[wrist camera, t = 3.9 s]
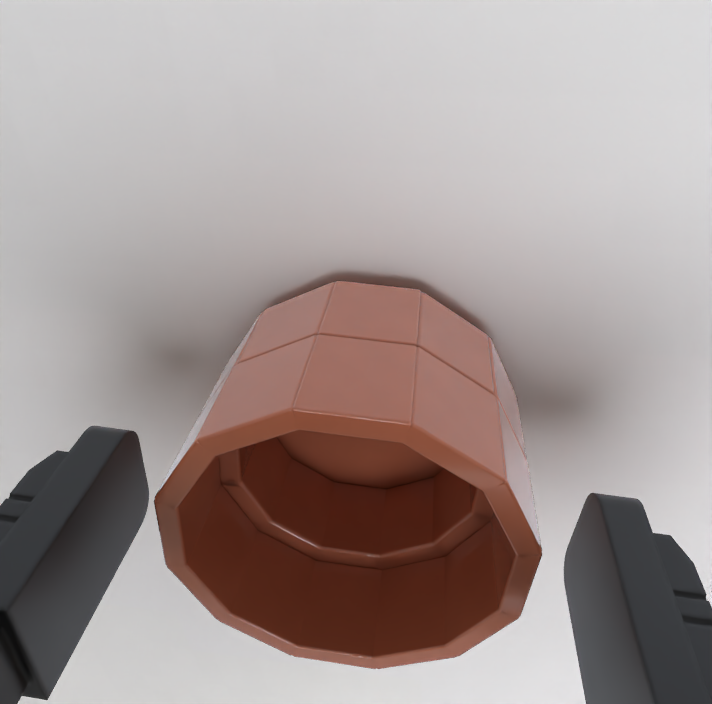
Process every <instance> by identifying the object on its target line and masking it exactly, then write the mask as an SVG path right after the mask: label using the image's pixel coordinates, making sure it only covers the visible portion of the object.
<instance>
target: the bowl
mask: <svg viewBox="0 0 712 704" xmlns="http://www.w3.org/2000/svg"><path fill="white" fill-rule="evenodd" d="M154 504H155V509H156V515H157V520H158V526H159V531H160V536H161V542H162V547H163V553H164V558H165V564H166V565H167V567H168V569H169V570H170V571H171V572H172V573H173V574H174V575H175V576H176V577H177V578H178V579H179V580H180V581H181V582H182V583H183V584H184V586H185V587H186V588H187V589H188V590H189V591H190V592H191V593H192V594H193V595H194V596H195V597H196V598H197V599H198V600H199V601H200V603H201V604H202V605H203V606H204V607H205V608H206V609H207V610H208V611H209V612H210V613H211V614H212V615H213V616H214V617H215V618H216V619H218V620H219V621H220V622H222V623H224V624H226V625H228V626H230V627H232V628H234V629H236V630H239V631H241V632H243V633H245V634H247V635H249V636H251V637H253V638H255V639H257V640H259V641H261V642H264V643H266V644H268V645H270V646H272V647H274V648H276V649H278V650H280V651H282V652H284V653H287V654H289V655H293V656H294V657H301V658H307V659H314V660H320V661H326V662H333V663H339V664H346V665H352V666H359V667H365V668H371V669H376V668H377V669H382V668H388V667H395V666H402V665H408V664H415V663H421V662H428V661H434V660H441V659H448V658H454V657H457V656H460V655H462V654H463V653H465V652H466V651H468V650H470V649H471V648H473V647H474V646H476V645H477V644H479V643H481V642H482V641H484V640H485V639H487V638H488V637H490V636H492V635H493V634H495V633H496V632H498V631H499V630H501V629H503V628H504V627H506V626H507V625H509V624H511V623H512V622H514V621H515V620H517V619H518V618H519V617H520V616H521V613H522V610H523V607H524V604H525V602H526V599H527V596H528V593H529V590H530V587H531V585H532V582H533V579H534V576H535V573H536V570H537V568H538V565H539V562H540V559H541V556H542V548H541V542H540V536H539V530H538V524H537V518H536V511H535V505H534V499H533V493H532V487H531V480H530V474H529V468H528V463H527V457H526V451H525V445H524V439H523V432H522V426H521V420H520V414H519V408H518V401H517V396H516V394H515V392H514V389H513V387H512V385H511V382H510V380H509V378H508V376H507V373H506V371H505V369H504V367H503V364H502V362H501V360H500V357H499V355H498V353H497V351H496V348H495V346H494V344H493V341H492V339H491V338H490V337H488V336H487V334H486V333H484V332H483V331H481V330H480V329H478V328H477V327H475V326H474V325H472V324H471V323H469V322H468V321H466V320H465V319H463V318H462V317H460V316H459V315H457V314H456V313H454V312H453V311H451V310H450V309H448V308H447V307H445V306H444V305H442V304H441V303H439V302H438V301H436V300H435V299H433V298H432V297H430V296H429V295H427V294H426V293H424V292H421V290H419V289H411V288H402V287H392V286H383V285H374V284H365V283H356V282H347V281H336V282H331V283H329V284H326V285H324V286H321V287H319V288H316V289H314V290H311V291H309V292H306V293H304V294H301V295H299V296H296V297H294V298H292V299H289V300H287V301H284V302H282V303H279V304H277V305H274V306H272V307H269V308H267V309H265V310H264V311H263V312H261V313H260V315H259V316H258V318H257V319H256V321H255V322H254V324H253V325H252V327H251V328H250V330H249V331H248V333H247V334H246V336H245V337H244V339H243V340H242V342H241V343H240V345H239V346H238V348H237V349H236V351H235V352H234V354H233V355H232V357H231V358H230V360H229V361H228V363H227V365H226V366H225V368H224V370H223V372H222V374H221V376H220V378H219V379H218V381H217V383H216V385H215V387H214V389H213V391H212V392H211V394H210V396H209V398H208V400H207V402H206V404H205V405H204V407H203V409H202V411H201V413H200V415H199V416H198V419H197V420H196V422H195V424H194V426H193V428H192V429H191V431H190V433H189V435H188V437H187V439H186V441H185V442H184V444H183V446H182V448H181V450H180V452H179V454H178V455H177V457H176V459H175V461H174V463H173V465H172V466H171V468H170V470H169V472H168V474H167V476H166V478H165V479H164V481H163V483H162V485H161V487H160V489H159V491H158V492H157V494H156V496H155V500H154Z"/></svg>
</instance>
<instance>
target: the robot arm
mask: <svg viewBox="0 0 712 704" xmlns="http://www.w3.org/2000/svg"><path fill="white" fill-rule="evenodd" d="M148 500H149V489H148V483H147V478H146V473H145V468H144V463H143V458H142V453H141V448H140V442H139V438H138V436H137V434H136V432H134V431H129V430H122V429H114V428H106V427H99V426H91V427H89V428H88V429H86V430H85V432H84V433H83V434H82V435H81V437H80V438H79V439H78V441H77V442H76V443H75V445H74V446H73V447H72V449H71V450H70V451H69V452H63V451H56V452H54V453H53V454H52V455H50V456H49V457H47V458H46V459H44V460H43V461H41V462H40V463H39V464H37V465H36V466H34V467H33V468H31V469H30V470H29V471H28V472H27V473H26V475H25V476H24V477H23V478H22V479H21V481H20V482H19V483H18V484H17V486H16V487H15V488H14V489H13V491H12V492H11V493H10V497H9V499H5V501H4V502H3V503H2V504H1V505H0V704H17V703H18V701H19V700H20V698H21V696H26V697H32V698H38V699H44V700H48V698H49V696H50V694H51V692H52V690H53V689H54V687H55V685H56V683H57V681H58V679H59V677H60V676H61V674H62V672H63V670H64V668H65V666H66V664H67V662H68V661H69V659H70V657H71V655H72V653H73V651H74V649H75V648H76V646H77V644H78V642H79V640H80V638H81V636H82V635H83V633H84V631H85V629H86V627H87V625H88V623H89V621H90V620H91V618H92V616H93V614H94V612H95V610H96V608H97V607H98V605H99V603H100V601H101V599H102V597H103V595H104V594H105V592H106V590H107V588H108V586H109V584H110V582H111V580H112V579H113V577H114V575H115V573H116V571H117V569H118V567H119V566H120V564H121V562H122V560H123V558H124V556H125V554H126V553H127V551H128V549H129V547H130V545H131V543H132V541H133V539H134V538H135V536H136V534H137V532H138V530H139V528H140V526H141V524H142V522H143V520H144V518H145V515H146V511H147V507H148ZM564 584H565V590H566V595H567V601H568V606H569V612H570V617H571V623H572V628H573V634H574V639H575V645H576V650H577V656H578V661H579V667H580V672H581V678H582V683H583V689H584V694H585V700H586V704H712V608H711V605H710V603H709V601H706V593H705V590H704V588H703V585H702V583H701V580H700V578H699V575H698V573H697V570H696V568H695V565H694V563H693V562H692V561H691V560H690V558H689V557H688V556H687V555H686V554H685V552H684V551H683V550H682V549H681V548H680V547H679V545H678V544H677V543H676V542H675V541H674V539H673V538H672V537H671V536H670V535H663V534H656V533H653V532H652V530H651V527H650V524H649V521H648V518H647V515H646V512H645V510H644V507H643V505H642V503H641V502H640V501H639V500H638V499H634V498H627V497H619V496H611V495H604V494H596V493H591V494H590V495H589V496H588V497H587V499H586V501H585V504H584V506H583V509H582V511H581V514H580V517H579V519H578V522H577V524H576V527H575V529H574V532H573V535H572V537H571V540H570V542H569V545H568V548H567V551H566V555H565V562H564Z"/></svg>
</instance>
